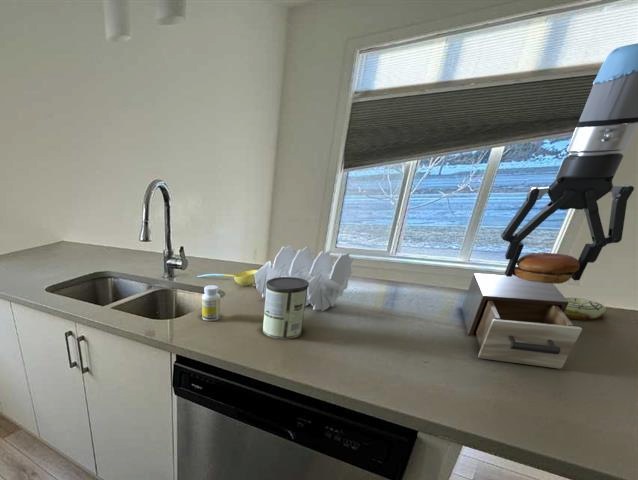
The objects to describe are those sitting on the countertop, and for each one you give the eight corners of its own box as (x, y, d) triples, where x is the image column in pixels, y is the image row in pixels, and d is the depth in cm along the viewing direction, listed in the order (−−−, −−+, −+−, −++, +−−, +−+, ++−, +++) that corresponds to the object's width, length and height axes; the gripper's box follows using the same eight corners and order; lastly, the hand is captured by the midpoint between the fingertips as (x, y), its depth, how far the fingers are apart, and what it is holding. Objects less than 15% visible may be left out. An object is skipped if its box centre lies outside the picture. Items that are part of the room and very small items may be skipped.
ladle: (251, 288, 143) (249, 272, 141) (194, 292, 163) (191, 278, 160) (264, 281, 147) (262, 265, 145) (207, 285, 167) (204, 272, 165)
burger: (543, 286, 79) (554, 262, 77) (498, 275, 87) (506, 253, 85) (587, 280, 80) (599, 256, 77) (538, 269, 88) (548, 247, 86)
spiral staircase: (273, 305, 140) (345, 318, 122) (245, 295, 129) (319, 308, 110) (290, 252, 136) (366, 257, 118) (262, 237, 125) (342, 241, 107)
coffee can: (271, 323, 117) (276, 275, 110) (307, 330, 111) (315, 279, 103) (255, 335, 110) (259, 285, 103) (292, 343, 104) (299, 290, 97)
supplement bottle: (211, 313, 127) (211, 283, 122) (223, 318, 123) (224, 287, 118) (198, 318, 125) (198, 287, 120) (210, 322, 121) (210, 291, 116)
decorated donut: (603, 325, 99) (611, 311, 97) (543, 318, 105) (549, 304, 103) (598, 312, 105) (605, 298, 103) (542, 305, 111) (548, 292, 110)
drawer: (568, 381, 78) (591, 339, 74) (481, 368, 85) (497, 330, 80) (541, 334, 95) (557, 299, 91) (469, 327, 102) (482, 293, 97)
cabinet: (547, 346, 92) (569, 302, 87) (467, 337, 99) (483, 295, 94) (529, 316, 106) (547, 277, 101) (460, 310, 113) (474, 273, 108)
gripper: (516, 159, 75) (474, 277, 86) (700, 149, 64) (624, 286, 75) (509, 156, 80) (470, 268, 91) (678, 147, 69) (610, 275, 81)
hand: (540, 276), depth 83 cm, fingers closed on burger, 10 cm apart
